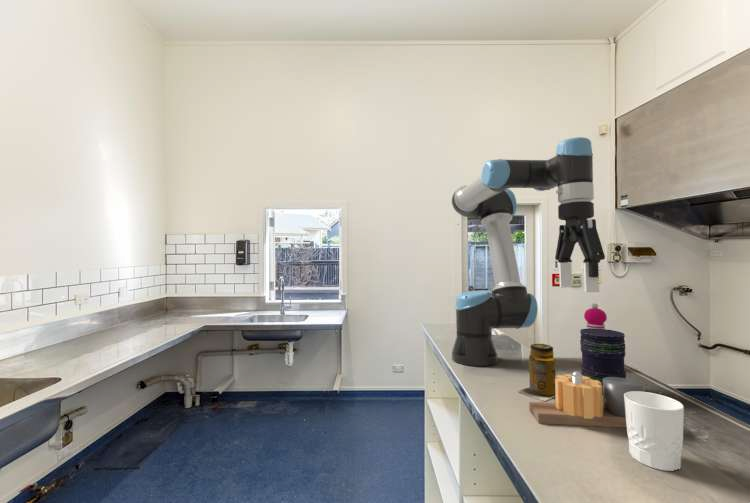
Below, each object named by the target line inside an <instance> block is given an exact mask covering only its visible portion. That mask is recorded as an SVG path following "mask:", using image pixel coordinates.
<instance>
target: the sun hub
mask: <svg viewBox="0 0 750 503" xmlns="http://www.w3.org/2000/svg"><path fill="white" fill-rule="evenodd" d="M631 391H640V392H645V386H644V384H643V383H642V382H639V381H637V380H634V379H630V378H627V377H626V378H620V377H605V378H603V396H602V399H603V406H604V410H606V411H607V412H609V413H611V414H613V415H616V416H619V417H623V418H626V415H625V403H624V394H625V393H627V392H631Z"/></svg>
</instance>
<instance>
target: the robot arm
mask: <svg viewBox="0 0 750 503" xmlns="http://www.w3.org/2000/svg"><path fill="white" fill-rule="evenodd" d="M555 151H556V152H555V154H556V155H555V156H553V157H551V158H549V159H545V160H544V159H503V158H498V159H490V160H487V161H486V162H485V163H484V165H483V167H482V170H481V175H480V176H478V177H477V178H476V179H474V180H473V181H471V182H470V183H468V184H467V185H463V186H460V187H459V188H458V189H456V190H455V191H454V193H453V195H452V197H451V204H452V208H453V210H454V211H455V212H456V213H458V214H459V215H460V216H463V217H465V218H470V219H471V218H472V219H473V218H474V219H480V224H481V225H482V226H483V227H485V230H486V231H485V232H486V237H487V244H488V248H489V256H490V262H491V268H492V269H491V270H492V274H493V281H494V285H495V286H494V287H493V288H492V290H491V291H490V290H485V289H484V290H483V289H482V290H472V291H464V292H461V293H460V294H458V295H457V296H456V300H455V301H456V302H455V311H456V313H455V316H456V317H455V319H456V320H455V321H456V324H455V325H456V337H455V340H454V344H453V348H452V350H451V360H452V361H453V362H456V363H458V364H460V365H466V366H471V367H487V366H494V365H496V364H497V363H498V362H499V358H498V357H499V356H498V351H497V349H496V346H495V343H494V340H493V333H492V332H493V329H496V330H497V329H517V330H518V329H521V328H522V329H525V328H529V327H531V326H532V325H533V324H534V323H535V321H536V319H537V317H538V316H537V315H538V302H537V299H536V297H535V296H534V294H532V293H530V292H529V293H528V290H527V289H528V288H527V286H526V285H525V284H523V283H522V282H521V278H520V272H519V267H518V263H517V262H518V261H517V257H516V252H515V246H514V241H513V235H512V230H511V225H510V222H511V221H512V220H513V217H514V216H515V214H516V212H517V203H518V202H517V198H516V196H515V193H514V192H513V191H512V190H511V189H533V190H536V191H539V192H540V191H541V192H544V191H550V190H552V189H555V188H556V187H557V190H556V191H555V192H556V194H557V202H558V203H559V205H558V206H557V207H558V208H557V214H558V219H559V220H560V221H565V223H564V224H562V225H561V224H560V225H559V228H558V230H559V231H558V239H557V246H556V251H555V257H554V258H555V261H557V262H558V263H559V264H558V266H559V267H558V268H559V288H573V277H572V275H573V273H572V271H573V270H572V263H573V260H572V259H571V258H572V254H573V252H574V250H575V249H574V248H575V246H576V244H577V243H578V246H579V249H580V251H581V253H582V255H583V257H584V259H583V261H582V263H583V276H584V277H583V279H584V282H583V283H584V285H583V286H584V292H585V293H600V274H599V273H600V270H599V269H600V268H599V266H600V265H599V263H601V261H602V260H603V261H604V260H605V259H606V255H605V252H604V250H603V245H602V242H601V239H600V235H599V233H598V229H597V220H596V219H595V218H594V216H595V203H593V200H594V199H595V198H594V197H595V195H594V194H595V193H594V192H595V190H594V182H593V181H594V172H593V171H594V168H593V167H594V166H593V163H594V162H593V159H594V158H593V157H594V156H593V155H594V154H593V147H592V142H591V139H589V138H588V137H581V136H579V137H577V136H576V137H571V138H567V139H564V140H562V141H560V142H558V144H557V146H556V150H555ZM495 363H496V364H495ZM493 364H494V365H493Z"/></svg>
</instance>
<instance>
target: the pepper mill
mask: <svg viewBox="0 0 750 503" xmlns="http://www.w3.org/2000/svg"><path fill="white" fill-rule="evenodd" d="M583 318H584V319H585V321H586V322H587V323H586V324H585V325H586V326H585V327H586V329H606V325H605V324H604V323H606V322H607V318H608V317H607V313H606V312H605V311H604V310H603V309H601V308H599V304H598V303H592V304H591V308H588V309H586V310H585V312H584V315H583Z"/></svg>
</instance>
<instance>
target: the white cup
mask: <svg viewBox="0 0 750 503" xmlns="http://www.w3.org/2000/svg"><path fill="white" fill-rule="evenodd" d="M624 403H625V415H626V425H627V428H626V433H627V438H628V450H629V451H628V452H629V454H630V456H631V457H632V458H633V459H634V460H636V461H637V462H639V463H640V464H642V465H645V466H647V467H650V468H653V469H656V470H660V471H666V472H675V471H674V470H676V471H678V470H677V469H679V470H680V469H681V468H682V452H683V444H684V410H685V409H684V404H683V403H681V401H678V400H677V399H674V398H672V397H669V396H666V395H662V394H659V393H654V392H649V391H648V392H647V391H644V392H640V391H631V392H627V393H625V394H624Z"/></svg>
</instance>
